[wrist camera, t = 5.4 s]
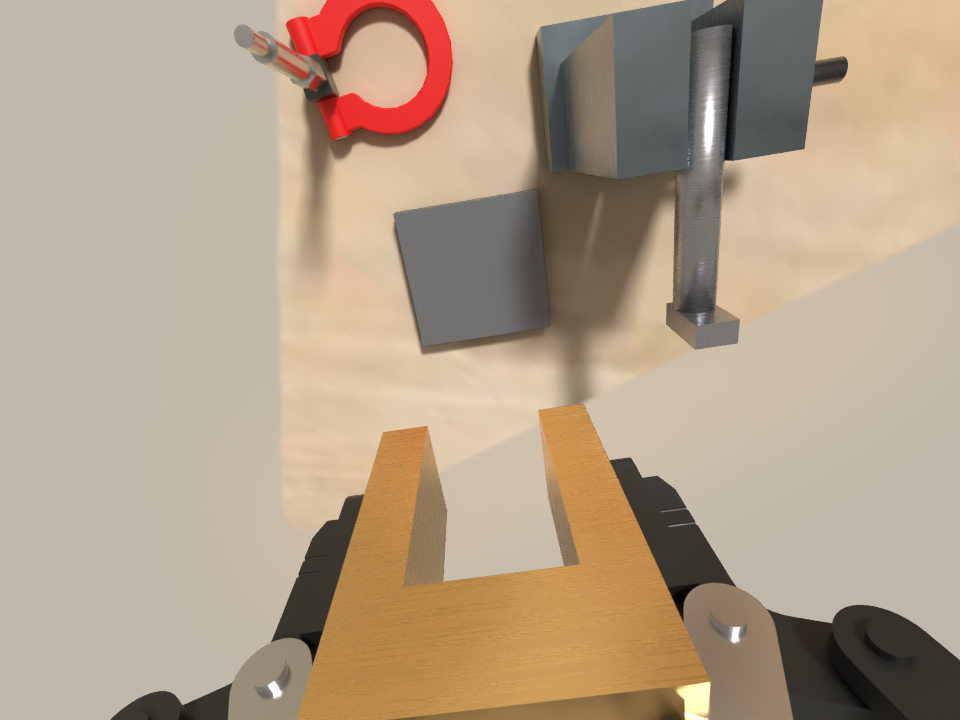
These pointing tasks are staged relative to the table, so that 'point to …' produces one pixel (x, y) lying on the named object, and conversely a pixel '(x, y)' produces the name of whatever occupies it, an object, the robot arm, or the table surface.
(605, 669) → the ochre slotted block
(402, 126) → the tow hook
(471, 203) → the rubber mat
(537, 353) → the table surface
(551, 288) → the table surface
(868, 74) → the table surface
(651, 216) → the table surface
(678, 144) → the vise
